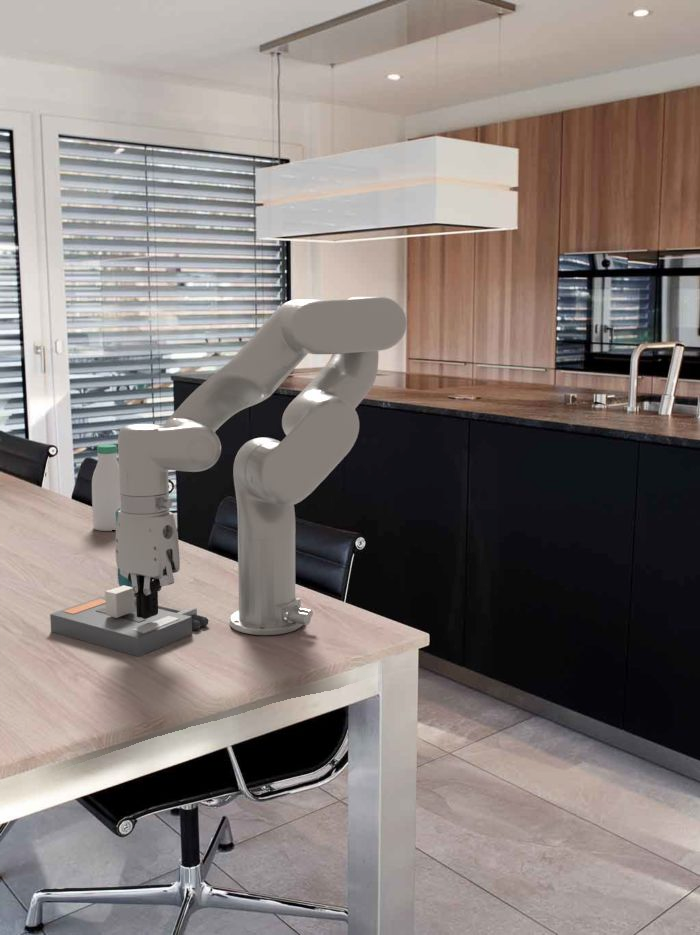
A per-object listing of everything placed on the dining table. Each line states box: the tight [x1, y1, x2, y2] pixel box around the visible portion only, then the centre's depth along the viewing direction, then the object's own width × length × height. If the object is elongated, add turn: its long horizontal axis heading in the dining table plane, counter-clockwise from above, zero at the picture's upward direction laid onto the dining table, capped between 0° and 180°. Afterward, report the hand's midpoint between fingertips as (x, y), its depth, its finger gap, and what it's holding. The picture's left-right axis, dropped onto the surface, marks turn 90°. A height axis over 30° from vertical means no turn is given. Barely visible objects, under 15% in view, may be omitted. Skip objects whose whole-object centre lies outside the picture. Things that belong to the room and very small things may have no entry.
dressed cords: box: [134, 596, 209, 631], centre depth 163 cm, size 20×4×2 cm, turn 57°
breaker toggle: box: [105, 585, 135, 618], centre depth 155 cm, size 2×4×4 cm, turn 147°
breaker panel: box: [49, 595, 193, 658], centre depth 155 cm, size 20×12×3 cm, turn 57°
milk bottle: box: [91, 443, 120, 532], centre depth 225 cm, size 8×8×20 cm
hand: (147, 615), depth 152 cm, fingers closed
